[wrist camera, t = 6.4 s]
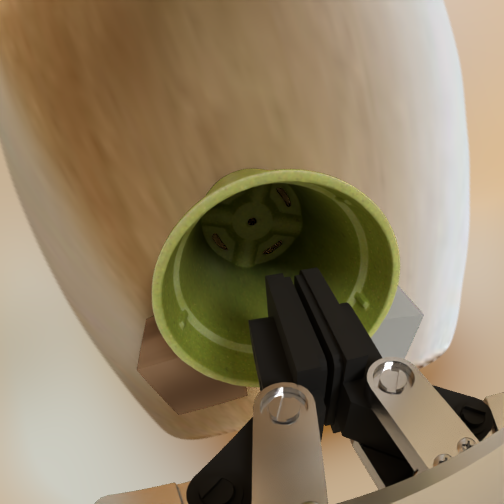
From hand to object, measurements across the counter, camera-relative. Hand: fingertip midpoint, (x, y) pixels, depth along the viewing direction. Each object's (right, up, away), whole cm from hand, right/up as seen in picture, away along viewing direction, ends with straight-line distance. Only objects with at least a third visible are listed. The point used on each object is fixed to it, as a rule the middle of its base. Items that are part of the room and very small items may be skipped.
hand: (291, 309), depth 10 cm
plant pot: (-1, +4, +9) cm, 10 cm away
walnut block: (-5, -4, +12) cm, 14 cm away
